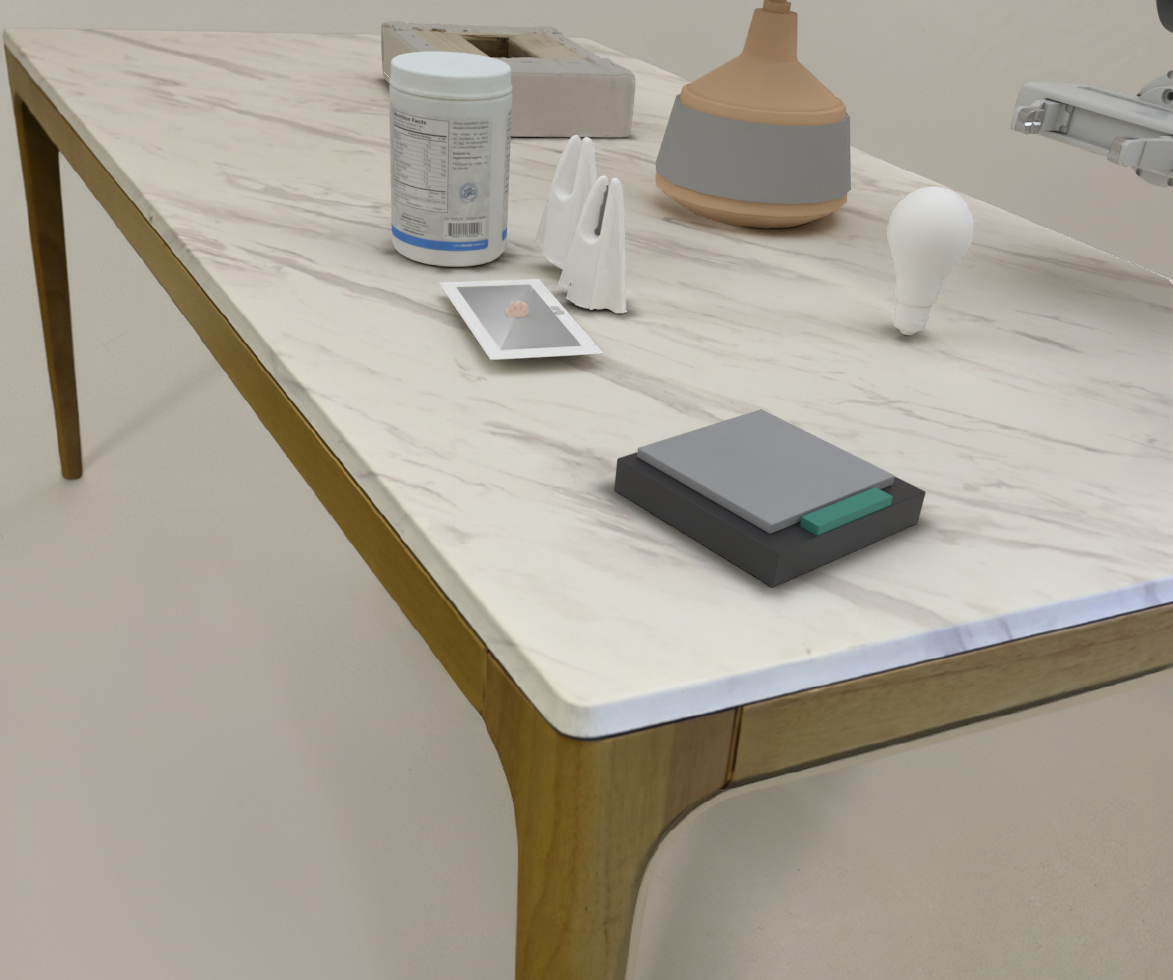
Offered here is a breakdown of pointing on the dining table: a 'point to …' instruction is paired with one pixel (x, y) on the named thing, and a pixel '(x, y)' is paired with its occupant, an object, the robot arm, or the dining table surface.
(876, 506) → the scale
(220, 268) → the dining table surface
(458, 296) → the touchpad
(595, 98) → the box
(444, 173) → the supplement tub
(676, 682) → the dining table surface
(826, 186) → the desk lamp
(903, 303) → the lightbulb
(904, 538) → the dining table surface
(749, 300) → the dining table surface
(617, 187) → the shaker set
